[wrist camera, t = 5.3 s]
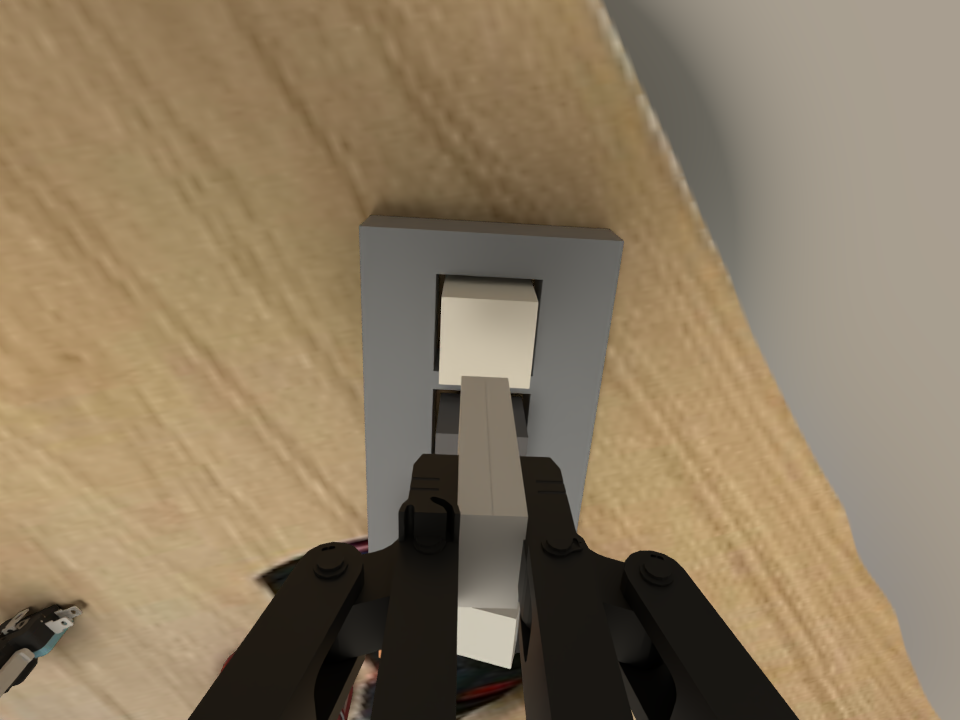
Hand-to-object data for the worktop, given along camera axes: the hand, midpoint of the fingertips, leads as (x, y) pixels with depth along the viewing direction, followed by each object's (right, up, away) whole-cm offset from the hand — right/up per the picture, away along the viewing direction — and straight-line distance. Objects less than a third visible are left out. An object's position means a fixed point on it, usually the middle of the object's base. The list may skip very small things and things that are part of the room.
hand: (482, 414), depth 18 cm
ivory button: (0, +4, +10) cm, 11 cm away
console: (0, -3, +15) cm, 15 cm away
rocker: (-1, -14, +15) cm, 20 cm away
